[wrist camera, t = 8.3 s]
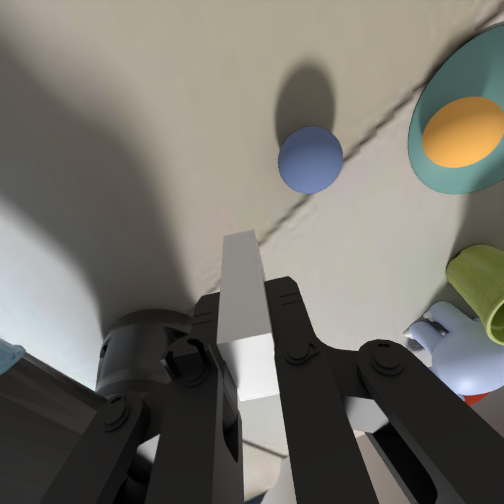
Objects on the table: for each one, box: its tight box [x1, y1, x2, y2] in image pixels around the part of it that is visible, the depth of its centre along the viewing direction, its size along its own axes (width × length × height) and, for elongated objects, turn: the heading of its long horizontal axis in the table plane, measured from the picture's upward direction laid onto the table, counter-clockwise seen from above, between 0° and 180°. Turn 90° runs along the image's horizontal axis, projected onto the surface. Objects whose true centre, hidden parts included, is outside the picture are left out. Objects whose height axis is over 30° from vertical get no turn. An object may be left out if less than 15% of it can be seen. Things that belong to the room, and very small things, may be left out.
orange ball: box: [422, 97, 504, 168], centre depth 22 cm, size 6×6×6 cm
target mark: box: [408, 25, 504, 194], centre depth 24 cm, size 14×14×1 cm
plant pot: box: [446, 244, 504, 345], centre depth 29 cm, size 9×9×9 cm
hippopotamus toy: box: [404, 301, 504, 401], centre depth 35 cm, size 11×15×10 cm
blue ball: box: [278, 126, 343, 194], centre depth 23 cm, size 6×6×6 cm
